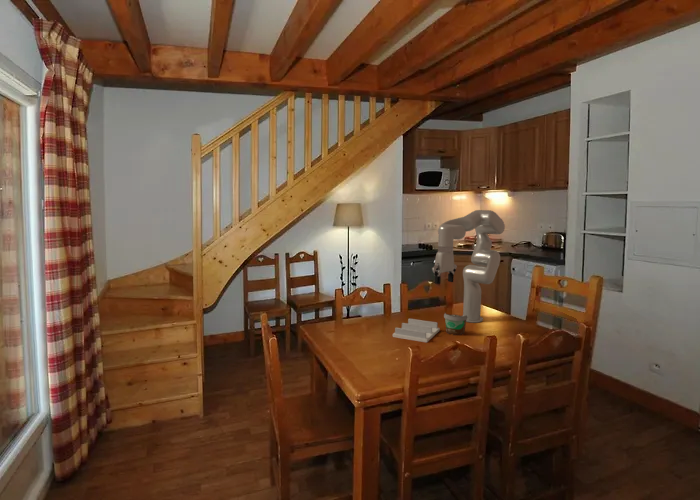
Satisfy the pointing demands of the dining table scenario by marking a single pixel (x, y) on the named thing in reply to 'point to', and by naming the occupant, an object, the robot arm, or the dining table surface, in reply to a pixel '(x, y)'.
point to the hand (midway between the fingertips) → (444, 282)
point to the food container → (455, 324)
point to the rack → (417, 330)
